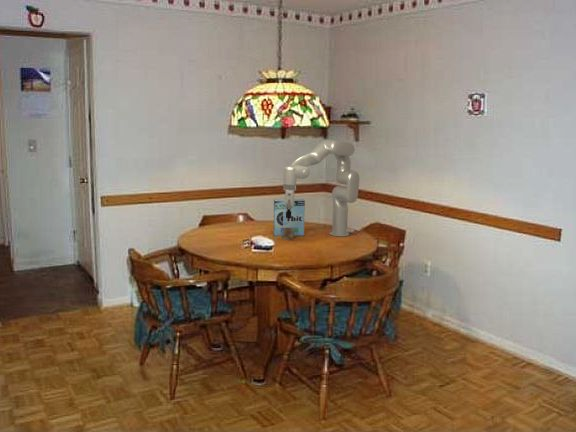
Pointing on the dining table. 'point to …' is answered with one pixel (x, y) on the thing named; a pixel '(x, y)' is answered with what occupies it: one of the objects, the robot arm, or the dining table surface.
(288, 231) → the walnut block
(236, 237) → the dining table surface
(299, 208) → the gum box
